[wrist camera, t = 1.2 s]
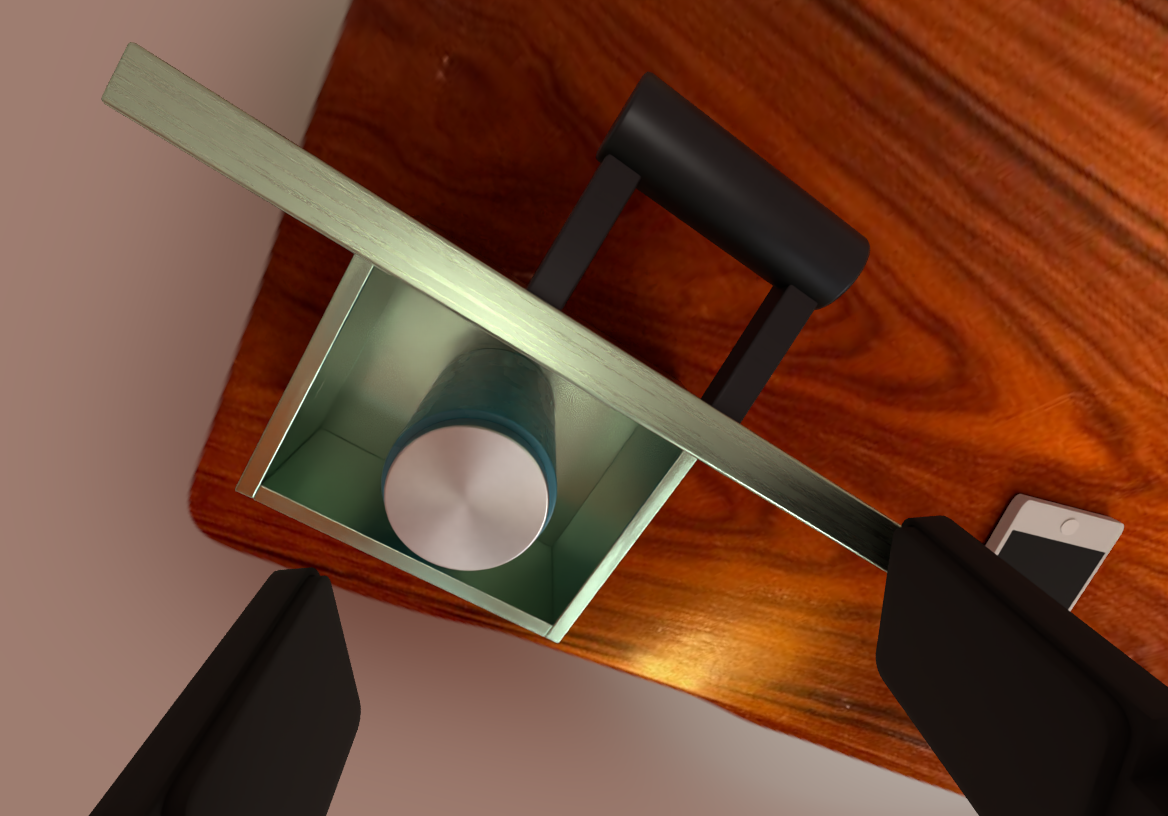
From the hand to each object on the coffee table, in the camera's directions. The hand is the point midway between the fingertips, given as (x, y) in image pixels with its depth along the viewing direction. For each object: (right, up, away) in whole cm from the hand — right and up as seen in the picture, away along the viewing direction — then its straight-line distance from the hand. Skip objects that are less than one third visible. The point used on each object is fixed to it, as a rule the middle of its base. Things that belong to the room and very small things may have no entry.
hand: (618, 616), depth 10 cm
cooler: (-5, +4, +21) cm, 22 cm away
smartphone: (+26, -9, +27) cm, 39 cm away
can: (-5, +3, +20) cm, 21 cm away
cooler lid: (-1, +5, +5) cm, 7 cm away
